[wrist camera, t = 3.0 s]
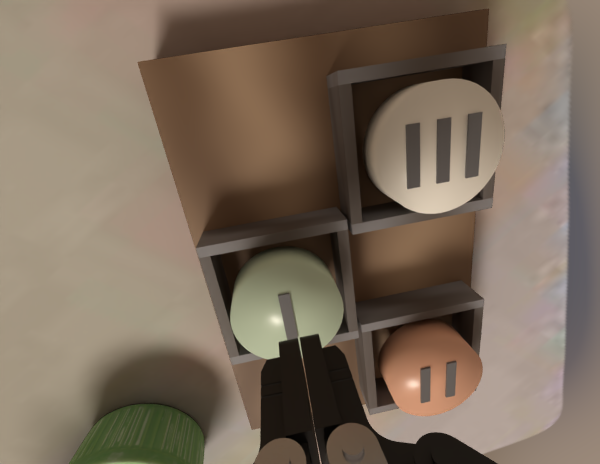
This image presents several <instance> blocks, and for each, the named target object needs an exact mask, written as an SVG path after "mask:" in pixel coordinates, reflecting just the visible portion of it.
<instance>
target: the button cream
mask: <svg viewBox="0 0 600 464" xmlns="http://www.w3.org/2000/svg"><path fill="white" fill-rule="evenodd" d="M504 138H505V129H504V121H503V116H502V113H501V111H500V108H499V106H498V104H497V102H496V101H495V99H494V98H493V97H492V95H491V94H490V93H489V92H488V91H487V90H486V89H484V88H483V87H481V86H480V85H478V84H476V83H474V82H471V81H468V80H464V79H454V78H453V79H443V80H437V81H431V82H425V83H419V84H414V85H410V86H407V87H405V88H402V89H400V90H399V91H397V92H395V93H394V94H392V95H391V96H390V97H388V98H387V99H386V100H385V101H384V102H383V103H382V104H381V105H380V106H379V108H378V109H377V110H376V112H375V113H374V115H373V116H372V118H371V120H370V122H369V124H368V126H367V129H366V132H365V136H364V141H363V161H364V165H365V169H366V172H367V174H368V176H369V178H370V180H371V181H372V183H373V184H374V185H375V186H376V187H377V188H378V189H379V190H380V191H381V192H382V193H384V194H385V195H387V196H389V197H390V198H392V199H393V200H395V201H396V202H398V203H399V204H401V205H402V206H404V207H405V208H407V209H409V210H412V211H415V212H418V213H424V214H436V213H443V212H446V211H450V210H452V209H455V208H457V207H459V206H461V205H463V204H465V203H466V202H468V201H469V200H471V199H472V198H473V197H474V196H475V195H477V194H478V193H479V192H480V191H481V190H482V189H483V188H484V186H485V185H486V184H487V183H488V181H489V180H490V178H491V177H492V175H493V174H494V172H495V170H496V168H497V166H498V163H499V161H500V158H501V155H502V151H503V146H504Z"/></svg>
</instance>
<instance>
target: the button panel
mask: <svg viewBox="0 0 600 464" xmlns="http://www.w3.org/2000/svg"><path fill="white" fill-rule="evenodd" d="M488 15H489V9H483V10H476V11H469V12H463V13H456V14H450V15H443V16H437V17H430V18H423V19H417V20H410V21H404V22H397V23H390V24H384V25H377V26H371V27H364V28H358V29H351V30H344V31H338V32H331V33H325V34H318V35H312V36H305V37H298V38H292V39H285V40H279V41H272V42H266V43H259V44H252V45H246V46H239V47H233V48H226V49H220V50H213V51H206V52H200V53H193V54H187V55H180V56H173V57H167V58H160V59H154V60H147V61H141V62H138V65H139V69H140V72H141V75H142V78H143V81H144V85H145V88H146V91H147V94H148V97H149V101H150V104H151V107H152V110H153V114H154V117H155V120H156V123H157V126H158V130H159V133H160V136H161V139H162V142H163V146H164V149H165V152H166V155H167V159H168V162H169V165H170V168H171V171H172V175H173V178H174V181H175V184H176V187H177V191H178V194H179V197H180V200H181V204H182V207H183V210H184V213H185V216H186V220H187V223H188V226H189V229H190V232H191V236H192V239H193V242H194V245H195V249H196V252H197V255H198V258H199V261H200V265H201V268H202V271H203V274H204V277H205V281H206V284H207V287H208V290H209V294H210V297H211V300H212V303H213V306H214V310H215V313H216V316H217V319H218V322H219V326H220V329H221V332H222V335H223V339H224V342H225V345H226V348H227V351H228V355H229V358H230V361H231V364H232V367H233V371H234V374H235V377H236V380H237V384H238V387H239V390H240V393H241V396H242V400H243V403H244V406H245V409H246V412H247V416H248V419H249V422H250V425H251V429H252V430H253V429H257V428H261V371H262V369H263V366H264V364H265V362H266V360H267V359H265V358H261V357H259V356H256V355H255V354H253V353H251V352H249V351H248V350H247V349H245V348H244V347H243V346H242V345H241V344H240V342H239V341H238V340H237V338H236V337H235V335H234V333H233V330H232V327H231V322H230V313H231V305H232V298H233V290H234V284H235V280H236V277H237V275H238V273H239V271H240V270H241V268H242V267H243V266H244V265H245V263H246V262H247V261H249V260H250V259H251V258H252V257H254V256H255V255H256V254H258V253H260V252H262V251H265V250H267V249H270V248H274V247H281V246H292V247H299V248H303V249H305V250H308V251H310V252H312V253H314V254H315V255H317V256H318V257H319V258H321V259H322V260H323V261H324V263H325V264H326V265H327V267H328V268H329V270H330V272H331V274H332V276H333V279H334V281H335V283H336V285H337V288H338V290H339V292H340V294H341V297H342V301H343V307H344V312H343V319H342V323H341V325H340V328H339V330H338V331H337V333H336V335H335V336H334V337H333V339H332V340H331V341H330V342H329V343H328V344H327V345H326V346H324V347H329V346H334V345H336V346H337V347H338V348H339V349H340V350H341V351H342V352H343V353H344V354H345V356H346V359H347V362H348V365H349V369H350V371H351V374H352V377H353V380H354V383H355V386H356V389H357V391H358V394H359V397H360V400H361V403H362V405H363V404H366V406H367V408H368V411H369V414H370V415H372V414H376V413H381V412H385V411H389V410H394V409H398V408H399V407H398V406H397V405H396V403H395V401H394V400H393V397H392V395H391V393H390V391H389V389H388V387H387V385H386V383H385V380H384V378H383V376H382V374H381V372H380V369H379V365H378V357H379V353H380V350H381V348H382V346H383V344H384V343H385V341H386V340H387V339H388V337H389V336H390V335H391V334H392V333H394V332H395V331H396V330H397V329H399V328H400V327H402V326H404V325H406V324H408V323H410V322H415V321H419V320H424V319H438V320H442V321H444V322H446V323H448V324H450V325H451V326H452V327H453V328H454V329H455V330H456V331H457V332H458V333H459V334H460V335H461V337H462V338H463V339H464V340H465V341H466V342H467V343H468V344H469V345H470V347H471V348H472V349H473V350H474V351H475V352H476V353H477V354H478V356H479V352H480V340H481V329H482V317H483V306H484V299H483V298H482V297H481V296H480V295H479V294H477V293H476V292H475V291H474V290H473V289H471V288H470V286H471V271H472V256H473V241H474V226H475V211H478V210H483V209H488V208H492V203H493V191H494V180H495V172H494V174H493V175H492V177H491V178H490V180H489V181H488V183H487V184H486V185H485V186H484V188H483V189H482V190H481V191H480V192H479V193H478V194H477V195H475V196H474V197H473V198H472V199H471V200H469V201H468V202H466V203H465V204H463V205H461V206H459V207H457V208H455V209H452V210H450V211H446V212H443V213H436V214H424V213H418V212H415V211H412V210H409V209H407V208H405V207H404V206H402V205H401V204H399V203H398V202H396V201H395V200H393V199H392V198H390V197H389V196H387V195H385V194H384V193H382V192H381V191H380V190H379V189H378V188H377V187H376V186H375V185H374V184H373V183H372V181H371V180H370V178H369V176H368V174H367V172H366V169H365V165H364V161H363V141H364V136H365V132H366V129H367V126H368V124H369V122H370V120H371V118H372V116H373V115H374V113H375V112H376V110H377V109H378V108H379V106H380V105H381V104H382V103H383V102H384V101H385V100H386V99H387V98H388V97H390V96H391V95H392V94H394V93H395V92H397V91H399V90H400V89H402V88H405V87H407V86H410V85H414V84H419V83H425V82H431V81H437V80H443V79H453V78H454V79H464V80H468V81H471V82H474V83H476V84H478V85H480V86H481V87H483V88H484V89H486V90H487V91H488V92H489V93H490V94H491V95H492V97H493V98H494V99H495V101H496V102H497V104H498V106H499V108H500V111H501V100H502V89H503V77H504V66H505V54H506V44H502V45H496V46H489V47H486V45H487V30H488ZM324 347H323V348H324ZM302 361H303V358H302ZM303 366H304V362H303ZM304 371H305V368H304ZM305 376H306V373H305ZM306 382H307V379H306ZM307 388H308V385H307ZM475 391H476V389H475ZM308 394H309V391H308ZM309 400H310V397H309ZM310 406H311V403H310ZM311 412H312V409H311ZM312 416H313V415H312Z"/></svg>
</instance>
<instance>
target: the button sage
mask: <svg viewBox="0 0 600 464" xmlns="http://www.w3.org/2000/svg"><path fill="white" fill-rule="evenodd" d="M343 312H344V307H343V301H342V297H341V294H340V292H339V290H338V288H337V285H336V283H335V281H334V279H333V276H332V274H331V272H330V270H329V268H328V267H327V265H326V264H325V263H324V261H323V260H322V259H321V258H319V257H318V256H317V255H315V254H314V253H312V252H310V251H308V250H305V249H303V248H299V247H292V246H281V247H274V248H270V249H267V250H265V251H262V252H260V253H258V254H256V255H255V256H254V257H252V258H251V259H250V260H249V261H247V262H246V263H245V265H244V266H243V267H242V268H241V270H240V271H239V273H238V275H237V277H236V280H235V284H234V290H233V298H232V305H231V313H230V322H231V327H232V330H233V333H234V335H235V337H236V338H237V340H238V341H239V342H240V344H241V345H242V346H243V347H244V348H245V349H247V350H248V351H249V352H251V353H253V354H255V355H256V356H259V357H261V358H265V359H272V358H277V357H280V356H279V342H280V341H285V340H290V339H295V338H298V341H299V346H300V351H301V356H302V350H301V344H300V337H304V336H309V335H314V334H319V337H320V341H321V345H322V348H323V347H324V346H326V345H327V344H328V343H329V342H330V341H331V340H332V339H333V337H334V336H335V335H336V333H337V331H338V330H339V328H340V325H341V323H342V319H343ZM302 358H303V356H302Z"/></svg>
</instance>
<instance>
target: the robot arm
mask: <svg viewBox="0 0 600 464" xmlns="http://www.w3.org/2000/svg"><path fill="white" fill-rule="evenodd" d="M300 344H301V350H302V356H303V361H302V356H301V351H300V346H299V341H298V338H295V339H290V340H285V341H280V342H279V356H280V357H277V358H272V359H267V360H266V362H265V364H264V366H263V369H262V371H261V442H260V450H259V453H258V455H257V457H256V459H255V462H254V463H253V464H320V460H319V454H318V448H317V442H318V447H319V452H320V457H321V462H322V464H497V463H495V462H494V461H492V460H491V459H489V458H487V457H486V456H484V455H482V454H481V453H479V452H477V451H476V450H474V449H472V448H471V447H469V446H467V445H466V444H464V443H462V442H461V441H459V440H458V439H456V438H454V437H452V436H450V435H447V434H444V433H437V432H434V433H428V434H426V435H424V436H422V437H421V438H420V439H419V440H418V441H417V443H416V444H411V443H403V442H396V441H391V440H388V439H386V438H384V437H382V436H381V435H379V434H378V433H377V432H376V431H375V430H374V429H373V428H372V427H371V426H370V424H369V422H368V420H367V418H366V415H365V412H364V409H363V406H362V403H361V400H360V397H359V394H358V391H357V389H356V386H355V383H354V380H353V377H352V374H351V371H350V369H349V365H348V362H347V359H346V356H345V354H344V353H343V352H342V351H341V350H340V349H339V348H338V347H337V346H336V345H334V346H329V347H324V348H322V345H321V341H320V337H319V334H314V335H309V336H304V337H300ZM303 362H304V366H303ZM304 368H305V371H304ZM305 373H306V376H305ZM306 379H307V382H306ZM307 385H308V388H307ZM308 391H309V394H308ZM309 397H310V400H309ZM310 403H311V406H310ZM311 409H312V412H311ZM312 415H313V418H312ZM313 421H314V424H313ZM314 427H315V430H314ZM315 433H316V436H315ZM316 437H317V442H316Z"/></svg>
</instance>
